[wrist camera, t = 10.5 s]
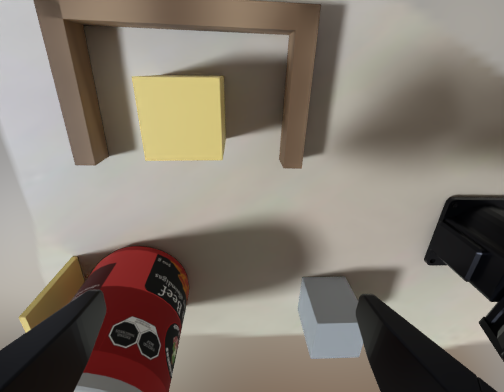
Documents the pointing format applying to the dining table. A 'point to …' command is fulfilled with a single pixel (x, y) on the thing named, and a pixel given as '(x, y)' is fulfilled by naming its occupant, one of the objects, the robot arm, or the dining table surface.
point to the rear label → (54, 295)
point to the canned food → (136, 321)
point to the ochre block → (181, 116)
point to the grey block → (329, 317)
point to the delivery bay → (181, 18)
